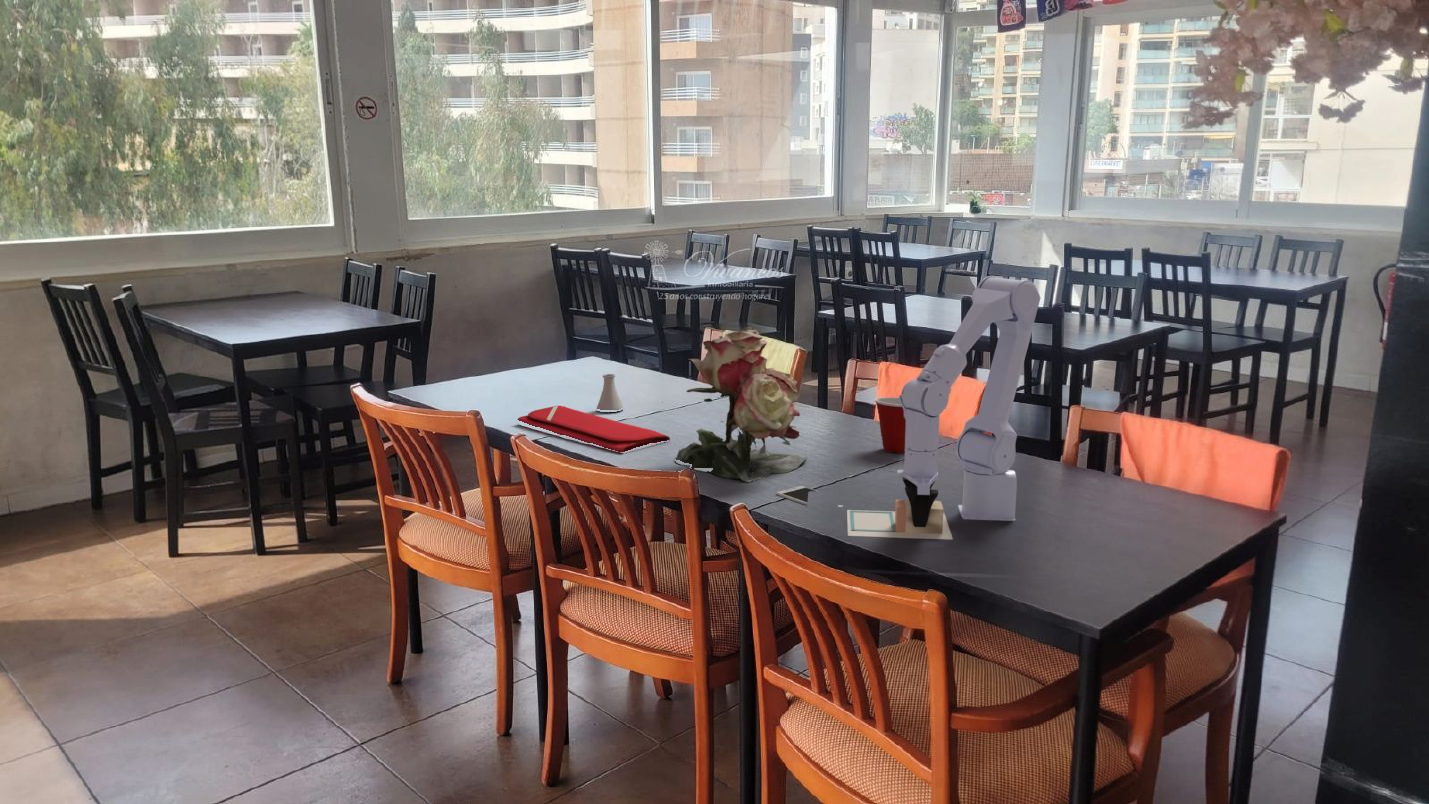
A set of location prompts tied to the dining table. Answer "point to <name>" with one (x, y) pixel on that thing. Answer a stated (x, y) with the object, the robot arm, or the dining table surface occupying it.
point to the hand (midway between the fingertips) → (918, 521)
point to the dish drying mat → (592, 428)
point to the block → (906, 523)
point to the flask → (609, 395)
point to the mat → (885, 526)
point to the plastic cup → (891, 424)
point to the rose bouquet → (745, 409)
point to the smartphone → (797, 494)
